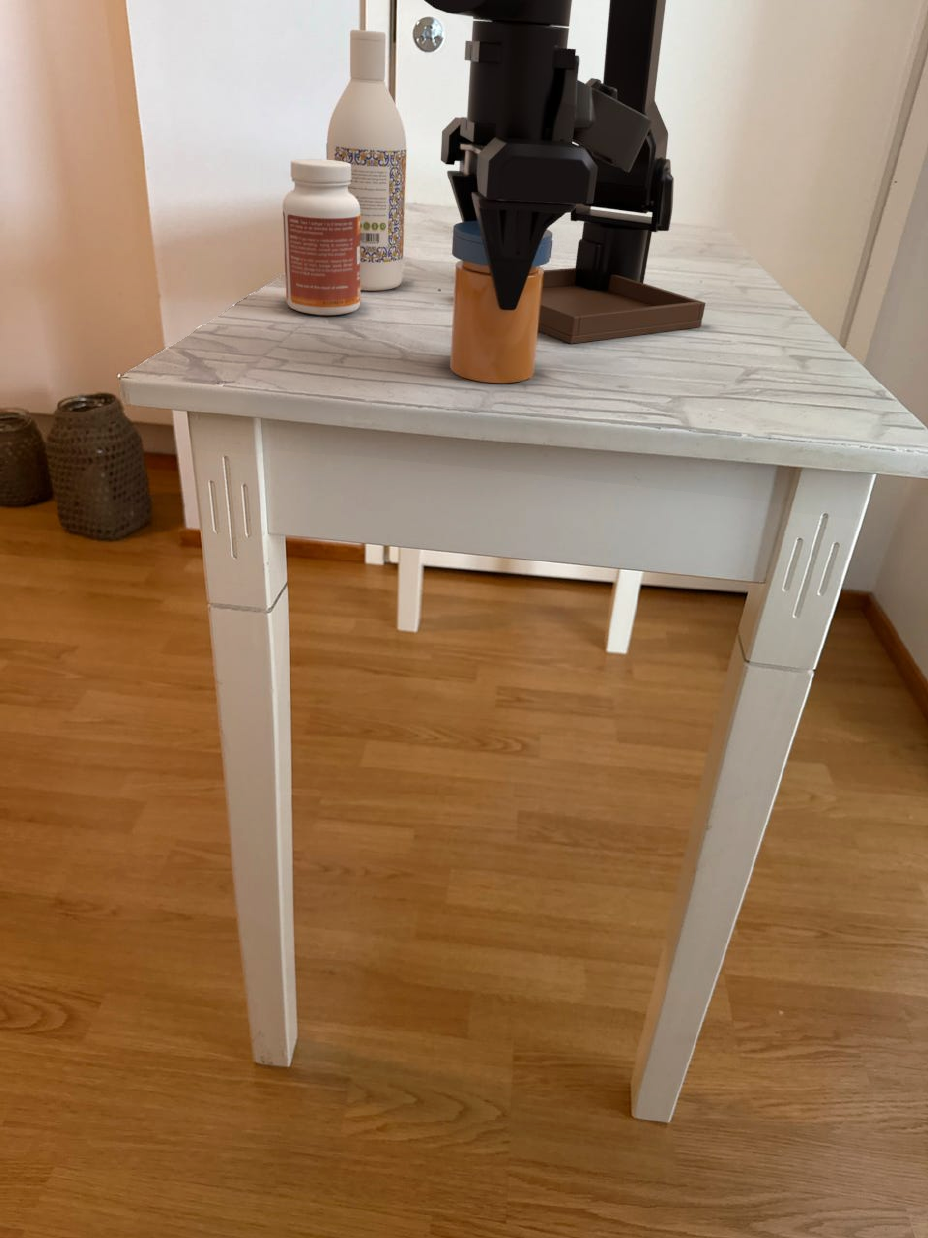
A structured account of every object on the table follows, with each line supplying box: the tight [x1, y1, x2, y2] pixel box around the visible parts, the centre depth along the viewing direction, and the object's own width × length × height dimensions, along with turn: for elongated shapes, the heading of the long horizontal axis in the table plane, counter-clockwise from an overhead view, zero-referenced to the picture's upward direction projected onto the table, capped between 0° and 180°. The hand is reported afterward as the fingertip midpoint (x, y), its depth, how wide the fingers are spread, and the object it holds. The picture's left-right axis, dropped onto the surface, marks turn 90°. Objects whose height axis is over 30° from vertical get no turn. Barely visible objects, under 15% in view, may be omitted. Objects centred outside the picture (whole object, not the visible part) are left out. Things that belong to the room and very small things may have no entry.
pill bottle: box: [282, 158, 361, 316], centre depth 73 cm, size 6×6×11 cm
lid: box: [451, 221, 553, 267], centre depth 59 cm, size 7×7×2 cm
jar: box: [449, 260, 545, 384], centre depth 62 cm, size 6×6×8 cm
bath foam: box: [325, 29, 408, 292], centre depth 79 cm, size 7×7×20 cm
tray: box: [538, 267, 706, 345], centre depth 80 cm, size 15×15×2 cm
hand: (497, 297), depth 61 cm, fingers closed on jar, lid, 6 cm apart
